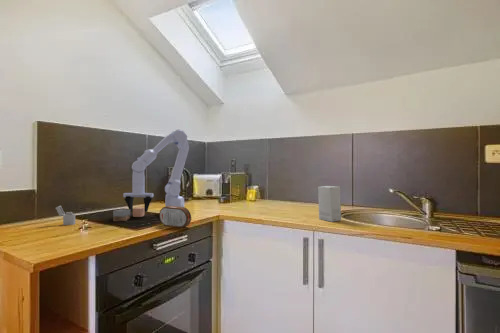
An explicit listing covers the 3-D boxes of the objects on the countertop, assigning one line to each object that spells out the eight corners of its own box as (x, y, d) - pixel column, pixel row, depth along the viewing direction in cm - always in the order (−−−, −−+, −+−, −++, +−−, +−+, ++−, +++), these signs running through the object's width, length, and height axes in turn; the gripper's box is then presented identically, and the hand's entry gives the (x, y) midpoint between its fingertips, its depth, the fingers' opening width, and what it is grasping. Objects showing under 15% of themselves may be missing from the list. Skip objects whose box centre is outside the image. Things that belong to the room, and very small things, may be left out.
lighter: (75, 223, 118) (75, 205, 118) (73, 224, 116) (73, 206, 116) (57, 224, 117) (57, 205, 117) (55, 225, 115) (55, 206, 115)
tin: (191, 227, 111) (191, 206, 111) (186, 229, 108) (186, 208, 108) (163, 224, 118) (163, 204, 118) (158, 225, 115) (158, 205, 115)
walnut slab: (130, 219, 129) (129, 214, 129) (125, 221, 124) (125, 216, 124) (118, 219, 129) (117, 214, 129) (113, 222, 123) (113, 216, 123)
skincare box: (341, 220, 124) (341, 186, 124) (330, 222, 121) (330, 187, 120) (327, 217, 131) (327, 185, 131) (317, 219, 128) (317, 186, 128)
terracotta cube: (144, 215, 138) (144, 207, 138) (140, 217, 134) (140, 208, 134) (136, 215, 138) (136, 207, 138) (132, 216, 134) (132, 208, 134)
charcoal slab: (130, 214, 128) (130, 209, 128) (123, 216, 123) (123, 211, 123) (120, 214, 129) (120, 209, 129) (113, 216, 124) (113, 210, 124)
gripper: (155, 184, 140) (155, 210, 140) (128, 183, 140) (128, 210, 140) (150, 185, 133) (150, 212, 133) (121, 184, 133) (121, 212, 133)
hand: (138, 211), depth 136 cm, fingers open, 7 cm apart
